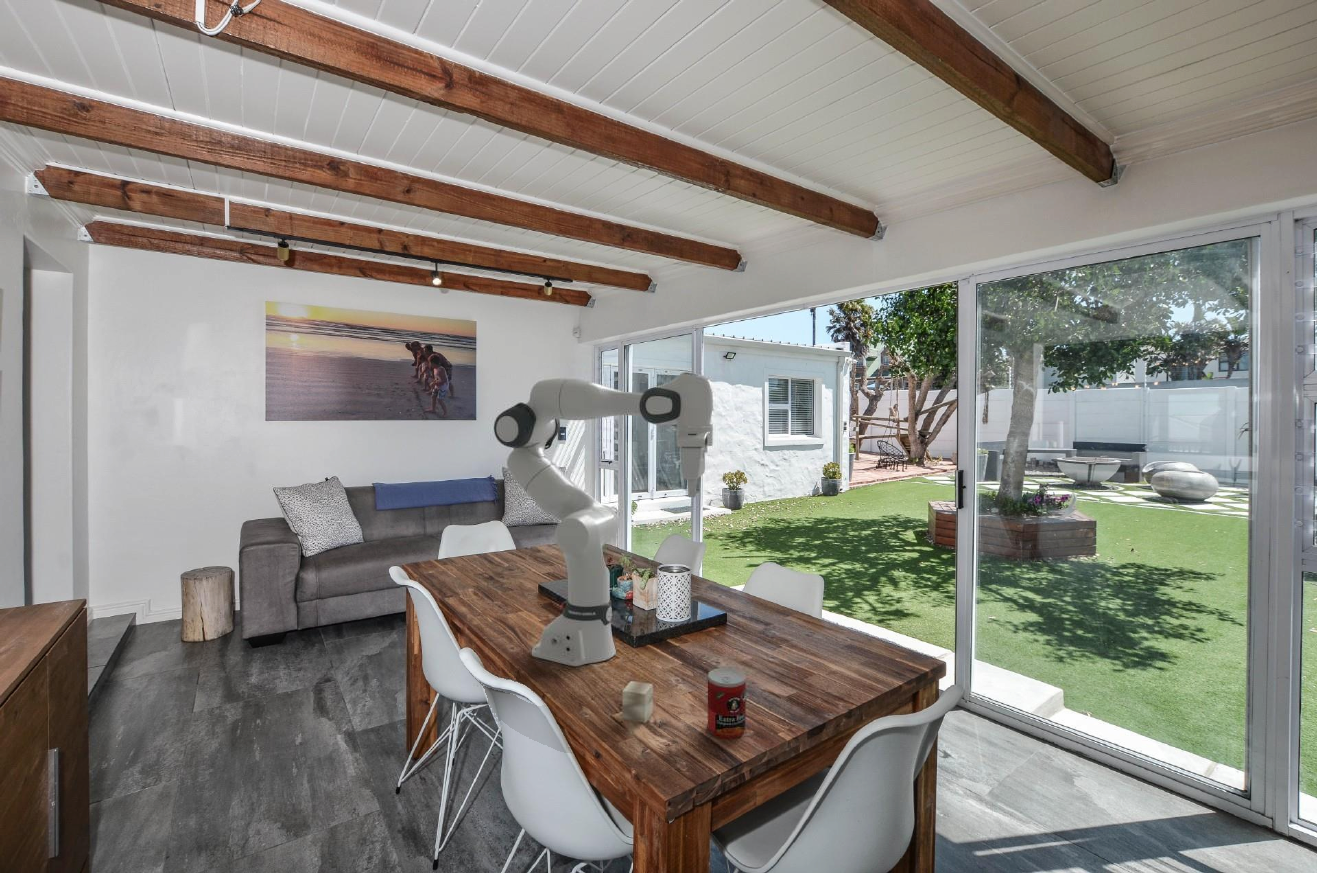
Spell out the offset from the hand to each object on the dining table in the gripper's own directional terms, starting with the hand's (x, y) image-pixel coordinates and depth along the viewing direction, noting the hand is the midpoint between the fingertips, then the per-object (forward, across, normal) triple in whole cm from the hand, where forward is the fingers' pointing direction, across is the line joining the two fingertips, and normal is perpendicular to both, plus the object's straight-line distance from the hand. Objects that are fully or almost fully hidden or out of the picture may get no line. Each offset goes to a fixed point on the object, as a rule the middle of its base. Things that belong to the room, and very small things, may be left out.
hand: (694, 494), depth 146 cm
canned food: (+44, +26, +10) cm, 52 cm away
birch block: (+44, +23, -9) cm, 51 cm away
